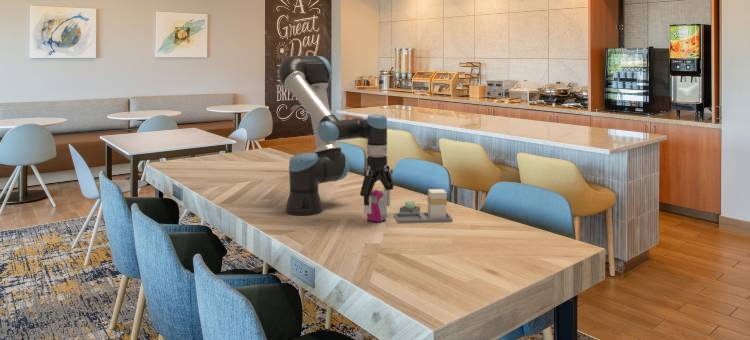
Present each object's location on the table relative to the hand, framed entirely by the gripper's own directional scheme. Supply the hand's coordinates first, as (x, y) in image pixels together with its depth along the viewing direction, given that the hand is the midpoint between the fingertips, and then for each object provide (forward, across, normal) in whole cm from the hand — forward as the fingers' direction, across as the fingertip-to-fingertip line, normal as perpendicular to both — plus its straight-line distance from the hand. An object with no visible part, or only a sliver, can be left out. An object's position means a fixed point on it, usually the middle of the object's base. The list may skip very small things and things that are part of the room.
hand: (377, 209), depth 225 cm
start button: (+4, +15, -6) cm, 16 cm away
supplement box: (+5, 0, 0) cm, 5 cm away
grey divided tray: (+5, +9, -15) cm, 18 cm away
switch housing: (+4, +15, -6) cm, 16 cm away
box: (+4, +13, -19) cm, 23 cm away
